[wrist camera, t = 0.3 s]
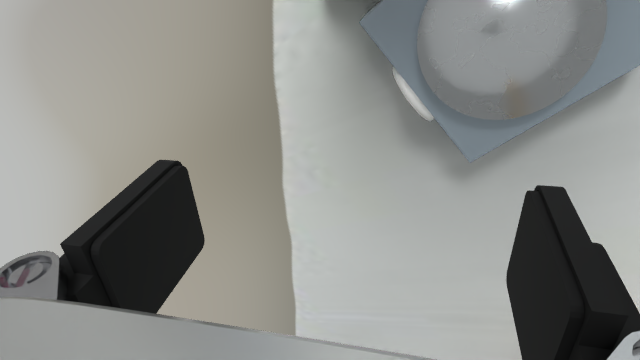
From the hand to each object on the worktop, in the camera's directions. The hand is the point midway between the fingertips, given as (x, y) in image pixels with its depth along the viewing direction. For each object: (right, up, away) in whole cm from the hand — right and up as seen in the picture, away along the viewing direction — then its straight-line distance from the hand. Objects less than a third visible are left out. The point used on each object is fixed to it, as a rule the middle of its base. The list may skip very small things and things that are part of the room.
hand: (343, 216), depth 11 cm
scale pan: (+13, +12, +20) cm, 27 cm away
